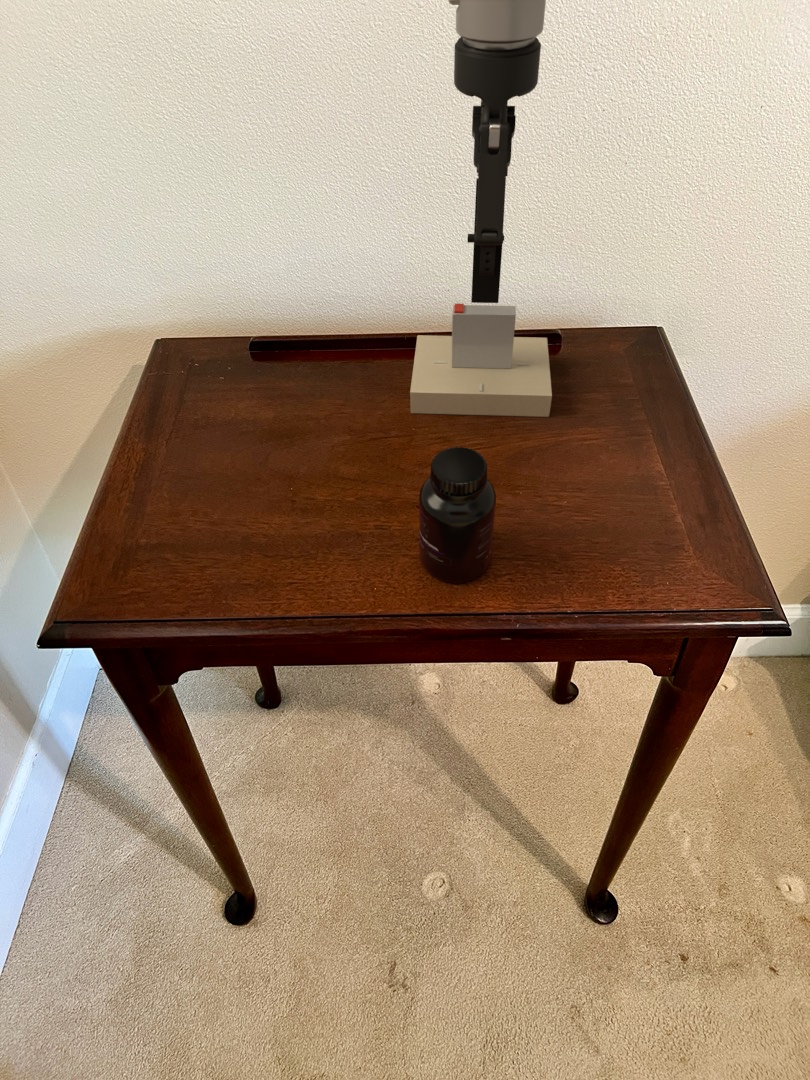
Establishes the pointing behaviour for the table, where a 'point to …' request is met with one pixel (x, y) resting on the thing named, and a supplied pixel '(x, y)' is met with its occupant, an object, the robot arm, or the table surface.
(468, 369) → the sink deck
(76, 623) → the table surface
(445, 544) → the supplement bottle
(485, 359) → the tap lever
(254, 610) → the table surface
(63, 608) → the table surface
